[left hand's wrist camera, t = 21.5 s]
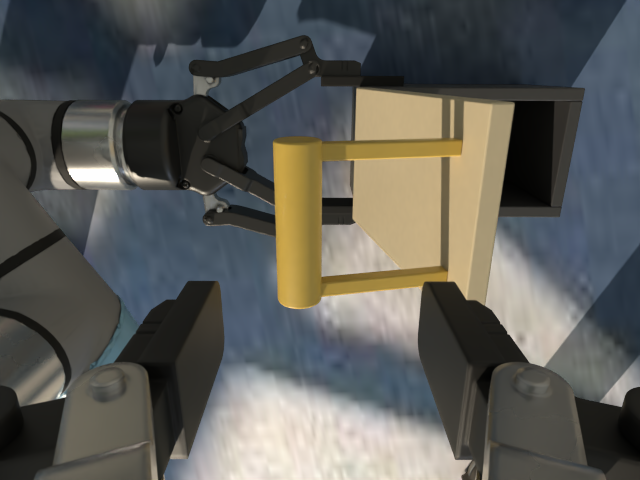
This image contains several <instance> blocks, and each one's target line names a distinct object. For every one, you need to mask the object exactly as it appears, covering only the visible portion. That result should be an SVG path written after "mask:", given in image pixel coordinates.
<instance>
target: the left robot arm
mask: <svg viewBox="0 0 640 480" xmlns="http://www.w3.org/2000/svg"><path fill="white" fill-rule="evenodd" d="M418 349H419V356H420V360H421V363H422V365H423V368H424V371H425V374H426V377H427V380H428V383H429V385H430V388H431V391H432V394H433V397H434V400H435V402H436V405H437V408H438V411H439V414H440V417H441V420H442V422H443V425H444V428H445V431H446V434H447V437H448V440H449V442H450V445H451V448H452V451H453V454H454V457H455V460H473V461H472V462H471V464H470V466H469V468H468V472H467V473H465V474H464V475H462V480H640V387H637V388H633V389H631V390H629V391H628V392H627V393H626V395H625V398H624V402H623V405H622V407H618V406H614V405H609V404H604V403H599V402H594V401H589V400H585V399H581V398H577V397H574V393H573V390H572V388H571V387H570V385H569V384H568V383H567V382H566V381H565V380H564V379H563V378H562V377H561V376H559V375H558V374H556V373H554V372H553V371H551V370H549V369H546V368H544V367H541V366H538V365H535V364H531V363H529V362H528V360H527V359H526V357H525V356H524V355H523V353H522V352H521V350H520V349H519V348H518V346H517V345H516V344H515V342H514V341H513V339H512V338H511V337H510V335H507V331H506V330H505V328H504V327H503V325H502V324H500V321H499V320H498V319H497V317H496V316H495V314H494V313H493V312H492V310H490V309H489V308H487V307H486V306H484V305H483V304H481V303H480V302H478V301H477V300H466V298H465V297H464V295H463V294H462V292H461V291H460V289H459V287H458V286H457V284H456V283H455V282H454V281H425V282H424V284H423V287H422V296H421V307H420V319H419V330H418ZM223 351H224V326H223V315H222V303H221V291H220V285H219V283H218V281H188V282H187V283H186V285H185V286H184V288H183V290H182V291H181V293H180V294H179V296H178V297H177V299H176V300H165V301H164V302H162V303H161V304H159V305H158V306H156V307H155V308H153V309H152V310H151V311H150V312H149V314H148V315H147V316H146V318H145V319H144V321H143V324H141V325H140V326H139V328H138V329H137V330H136V334H134V335H133V336H132V338H131V339H130V340H129V342H128V343H127V345H126V346H125V347H124V349H123V350H122V352H121V353H120V354H119V356H118V357H117V359H116V360H115V361H114V363H109V364H105V365H102V366H99V367H96V368H94V369H91V370H89V371H87V372H86V373H84V374H82V375H81V376H79V377H78V378H77V379H76V380H75V381H74V382H73V383H72V384H71V385H70V387H69V388H68V390H67V393H66V397H64V398H60V399H55V400H50V401H46V402H41V403H36V404H31V405H26V406H21V407H20V405H19V401H18V398H17V394H16V392H15V391H14V390H13V389H12V388H10V387H7V386H1V385H0V480H165V478H164V472H165V470H166V467H167V465H168V462H169V459H188V456H189V453H190V451H191V448H192V445H193V442H194V439H195V436H196V433H197V430H198V427H199V424H200V421H201V418H202V416H203V413H204V410H205V407H206V404H207V401H208V398H209V395H210V392H211V389H212V386H213V383H214V381H215V378H216V375H217V372H218V369H219V366H220V363H221V360H222V357H223Z"/></svg>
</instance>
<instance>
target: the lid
mask: <svg viewBox="0 0 640 480" xmlns="http://www.w3.org/2000/svg"><path fill="white" fill-rule="evenodd" d="M514 106H515V104H514V103H513V102H507V101H497V100H487V99H478V98H468V97H458V96H448V95H438V94H428V93H419V92H409V91H399V90H389V89H379V88H369V87H358V88H357V89H356V121H355V141H324V142H322V140H321V139H318V138H314V137H302V136H294V137H281V138H277V139H275V140H274V141H273V157H274V188H275V220H276V251H277V282H278V300H279V302H280V303H281V304H282V305H284V306H286V307H289V308H294V309H304V308H309V307H312V306H315V305H316V304H318V303H319V302H320V300H321V297H325V296H335V295H344V294H354V293H364V292H373V291H383V290H393V289H403V288H412V287H419V288H420V289H421V290H422V287H423V284H424V282H425V281H454V282H455V283H456V284H457V286H458V287H459V289H460V291H461V292H462V294H463V295H464V297H465V298H466V300H477V301H478V302H480V303H481V304H483V305H484V306H485V302H486V295H487V288H488V281H489V275H490V268H491V261H492V254H493V248H494V241H495V234H496V227H497V221H498V214H499V207H500V201H501V194H502V187H503V180H504V174H505V167H506V160H507V153H508V147H509V140H510V133H511V126H512V120H513V113H514ZM347 160H354V187H353V220H354V221H355V222H356V223H357V224H358V225H359V226H360V227H361V228H362V229H363V230H364V231H365V232H366V233H367V234H368V235H369V236H370V237H371V238H372V239H373V241H374V242H375V243H376V244H377V245H378V246H379V247H380V248H381V249H382V250H383V251H384V252H385V253H386V254H387V255H388V256H389V257H390V258H391V259H392V260H393V261H394V262H395V263H396V264H397V265H398V266H399V267H400V268H401V270H390V271H380V272H369V273H358V274H348V275H337V276H326V277H321V260H322V161H347Z"/></svg>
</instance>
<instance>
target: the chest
mask: <svg viewBox="0 0 640 480" xmlns="http://www.w3.org/2000/svg"><path fill="white" fill-rule="evenodd" d="M358 87H369V88H379V89H389V90H399V91H409V92H419V93H428V94H438V95H448V96H458V97H468V98H478V99H487V100H497V101H507V102H513V103H514V104H515V106H514V113H513V120H512V126H511V133H510V140H509V147H508V153H507V160H506V167H505V174H504V180H503V187H502V194H501V201H500V207H499V214H498V217H560V212H561V207H560V206H562V202H563V197H564V192H565V187H566V182H567V177H568V172H569V167H570V162H571V157H572V152H573V146H574V141H575V136H576V131H577V126H578V121H579V116H580V111H581V106H582V100H583V96H584V91H585V88H574V87H558V86H542V85H526V84H404V86H353V98H352V134H351V141H355V121H356V89H357V88H358ZM350 187H351V190H352V194H353V187H354V160H351V170H350Z"/></svg>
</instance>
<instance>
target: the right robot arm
mask: <svg viewBox="0 0 640 480" xmlns="http://www.w3.org/2000/svg"><path fill="white" fill-rule="evenodd" d="M299 55H300V56H301V59H302V62H303V65H302V66H301V67H299V68H297V69H296V70H294V71H292V72H291V73H289V74H288V75H286V76H284V77H283V78H281V79H279V80H278V81H276V82H274V83H273V84H271V85H270V86H268V87H266V88H265V89H263V90H261V91H260V92H258V93H256V94H255V95H253V96H251V97H250V98H248V99H247V100H245V101H243V102H242V103H240V104H238V105H236V106H235V107H233V108H231V109H230V110H228V109H227V108H225V107H224V106H222V105H221V104H220V103H218V102H217V101H216V100H214V99H213V98H211V97H210V96H208V94H209V91H210V89H212V88H214V87H218V86H219V85H220V83H221V77H230V76H234V75H237V74H240V73H244V72H247V71H250V70H254V69H257V68H260V67H263V66H267V65H270V64H273V63H276V62H280V61H283V60H286V59H290V58H293V57H296V56H299ZM189 71H190V72H191V74H193V79H194V95H193V96H191V97H189V98H188V99H185V100H136V101H134V102H133V103H132V104H131V103H130V102H128V101H126V100H70V101H46V100H0V385H1V386H7V387H10V388H12V389H13V390H14V391H15V392H16V394H17V398H18V401H19V405H20V407H21V406H26V405H31V404H36V403H41V402H46V401H50V400H55V399H60V398H64V397H66V393H67V390H68V388H69V387H70V385H71V384H72V383H73V382H74V381H75V380H76V379H77V378H78V377H79V376H81V375H82V374H84V373H86V372H87V371H89V370H91V369H94V368H96V367H99V366H102V365H105V364H109V363H114V361H115V360H116V359H117V357H118V356H119V354H120V353H121V352H122V350H123V349H124V347H125V346H126V345H127V343H128V342H129V340H130V339H131V338H132V336H133V335H134V334H136V330H137V329H138V328H139V325H138V324H137V322H136V321H135V320H134V318H133V317H132V315H131V314H130V312H129V311H128V310H127V308H126V307H125V304H124V302H123V301H122V299H121V298H120V297H119V296H118V295H116V294H115V293H114V292H113V291H112V289H111V288H110V287H109V286H108V285H107V284H106V282H105V281H104V280H103V279H102V278H101V277H100V275H99V274H98V273H97V272H96V271H95V270H94V268H93V267H92V266H91V265H90V264H89V263H88V261H87V260H86V259H85V258H84V257H83V255H82V254H81V253H80V252H79V251H78V250H77V248H76V247H75V246H74V245H73V244H72V243H71V241H70V240H69V239H68V238H67V237H66V236H65V234H64V233H63V232H62V231H61V229H60V228H59V227H58V226H57V225H56V223H55V222H54V221H53V220H52V219H51V217H50V216H49V215H48V214H47V212H46V211H45V210H44V209H43V208H42V206H41V205H40V204H39V203H38V201H37V200H36V199H35V198H34V197H33V195H32V194H31V193H30V192H33V191H38V190H58V189H96V190H133V189H136V188H137V187H138V186H139V187H140V188H141V189H143V190H192V191H195V192H197V193H199V194H201V195H203V200H204V206H205V212H206V213H205V215H204V216H203V222H204V224H205V225H207V226H220V225H232V226H235V227H239V228H243V229H246V230H250V231H254V232H258V233H261V234H265V235H269V236H273V237H276V220H275V215H272V214H269V213H265V212H261V211H258V210H254V209H250V208H247V207H243V206H239V205H230V204H229V202H228V200H226V199H223V198H220V197H218V196H217V194H216V192H217V191H218V190H220V189H221V188H222V187H224V186H225V185H227V184H228V183H229V184H231V185H233V186H234V187H236V188H238V189H240V190H242V191H246V192H249V193H251V194H253V195H255V196H257V197H258V198H260V199H262V200H264V201H266V202H268V203H270V204H271V205H273V206H275V188H274V183H273V182H271V181H270V180H268V179H266V178H264V177H262V176H261V175H259V174H257V173H256V172H255V171H254V170H252V169H251V168H249V167H247V166H246V164H247V162H248V157H247V151H246V148H245V139H246V126H244V124H243V122H242V120H244V119H245V118H247V117H249V116H250V115H252V114H254V113H255V112H257V111H259V110H260V109H262V108H264V107H265V106H267V105H269V104H270V103H272V102H274V101H275V100H277V99H279V98H280V97H282V96H284V95H285V94H287V93H289V92H290V91H292V90H294V89H295V88H297V87H299V86H300V85H302V84H304V83H305V82H307V81H309V80H310V79H312V78H313V77H321V86H404V76H360V73H361V63H359V62H357V61H325V60H321V59H319V58H318V57H317V55H316V53H315V50H314V47H313V44H312V41H311V39H310V38H309V37H308V36H306V35H302V36H299V37H296V38H292V39H289V40H286V41H283V42H279V43H276V44H273V45H270V46H267V47H263V48H260V49H257V50H254V51H250V52H247V53H244V54H241V55H237V56H234V57H231V58H228V59H225V60H221V61H218V62H217V61H204V60H193V61H192V62H191V63H190V64H189ZM353 223H356V222H355V221H354V220H353V198H322V225H343V224H344V225H351V224H353Z"/></svg>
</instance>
